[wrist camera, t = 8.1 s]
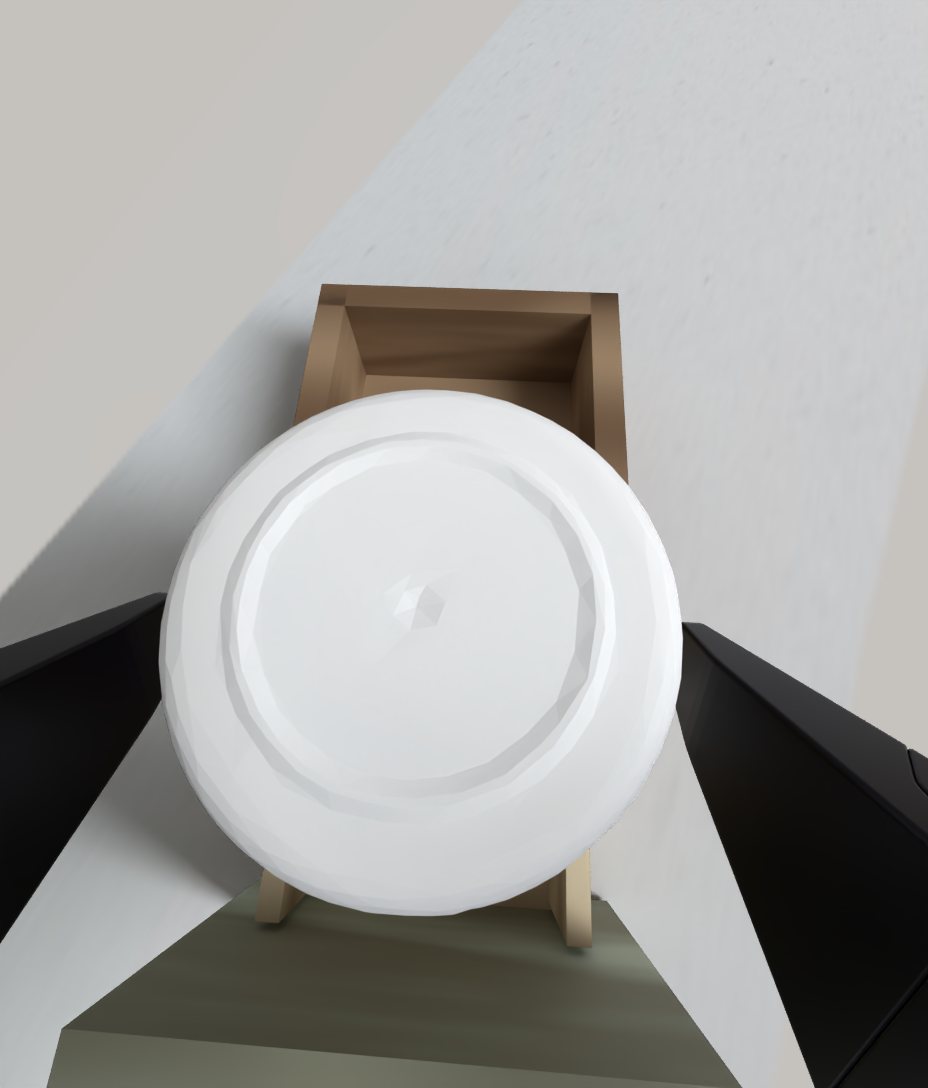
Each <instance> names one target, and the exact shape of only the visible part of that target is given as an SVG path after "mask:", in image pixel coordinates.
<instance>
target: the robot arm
mask: <svg viewBox="0 0 928 1088" xmlns="http://www.w3.org/2000/svg"><path fill="white" fill-rule="evenodd" d="M167 594H168V593H162V592H159V593H154V594H151V595H148V596H146V597H143V598H140V599H137V600H135V601H132V602H129V603H126V604H123V605H121V606H118V607H115V608H112V609H109V610H107V611H104V612H101V613H98V614H95V615H93V616H90V617H87V618H84V619H81V620H79V621H76V622H73V623H70V624H68V625H65V626H62V627H59V628H56V629H54V630H51V631H48V632H45V633H42V634H40V635H37V636H34V637H31V638H28V639H26V640H23V641H20V642H17V643H15V644H12V645H9V646H6V647H3V648H1V649H0V943H1V942H2V940H3V939H4V937H5V936H6V934H7V933H8V931H9V930H10V928H11V927H12V925H13V924H14V922H15V921H16V919H17V918H18V916H19V915H20V913H21V912H22V910H23V909H24V907H25V906H26V904H27V903H28V901H29V900H30V898H31V897H32V895H33V894H34V892H35V891H36V889H37V888H38V886H39V885H40V883H41V882H42V880H43V879H44V877H45V876H46V874H47V873H48V871H49V870H50V868H51V867H52V865H53V864H54V862H55V861H56V859H57V858H58V856H59V855H60V853H61V852H62V850H63V849H64V847H65V846H66V844H67V843H68V841H69V840H70V838H71V837H72V835H73V834H74V832H75V831H76V829H77V828H78V826H79V825H80V823H81V822H82V820H83V819H84V817H85V816H86V814H87V813H88V811H89V810H90V808H91V807H92V805H93V804H94V802H95V801H96V799H97V798H98V796H99V795H100V793H101V792H102V790H103V789H104V787H105V786H106V784H107V783H108V781H109V780H110V778H111V777H112V775H113V774H114V772H115V771H116V769H117V768H118V766H119V765H120V763H121V762H122V760H123V759H124V757H125V756H126V754H127V753H128V751H129V750H130V748H131V747H132V745H133V744H134V742H135V741H136V739H137V738H138V736H139V735H140V733H141V732H142V730H143V729H144V727H145V726H146V724H147V723H148V721H149V720H150V718H151V716H152V715H153V713H154V711H155V710H156V708H157V706H158V704H159V703H160V701H161V699H162V693H161V683H160V672H159V646H160V631H161V621H162V617H163V612H164V607H165V603H166V598H167ZM681 624H682V635H683V645H682V670H681V681H680V686H679V691H678V696H677V701H676V706H675V707H676V711H677V715H678V719H679V722H680V726H681V730H682V734H683V738H684V742H685V745H686V749H687V752H688V755H689V757H690V760H691V763H692V766H693V768H694V771H695V774H696V776H697V779H698V782H699V784H700V787H701V789H702V792H703V795H704V797H705V800H706V803H707V805H708V808H709V810H710V813H711V816H712V818H713V821H714V824H715V826H716V829H717V832H718V834H719V837H720V839H721V842H722V845H723V847H724V850H725V853H726V855H727V858H728V860H729V863H730V866H731V868H732V871H733V874H734V876H735V879H736V882H737V884H738V887H739V889H740V892H741V895H742V897H743V900H744V903H745V905H746V908H747V911H748V913H749V916H750V918H751V921H752V924H753V926H754V929H755V932H756V934H757V937H758V939H759V942H760V945H761V947H762V950H763V953H764V955H765V958H766V961H767V963H768V966H769V968H770V971H771V974H772V976H773V979H774V982H775V984H776V987H777V990H778V992H779V995H780V997H781V1000H782V1003H783V1005H784V1008H785V1011H786V1013H787V1016H788V1018H789V1021H790V1024H791V1026H792V1029H793V1032H794V1034H795V1037H796V1040H797V1042H798V1044H799V1047H800V1050H801V1052H802V1055H803V1058H804V1060H805V1063H806V1066H807V1068H808V1071H809V1074H810V1076H811V1079H812V1082H813V1084H814V1087H815V1088H928V758H926V757H925V756H923V755H921V754H920V753H918V752H917V751H915V750H913V749H908V750H907V747H906V745H904V744H903V743H901V742H900V741H897V740H896V739H895V738H893V737H891V736H890V735H888V734H886V733H885V732H883V731H881V730H879V729H878V728H876V727H875V726H873V725H871V724H870V723H868V722H866V721H865V720H863V719H861V718H859V717H858V716H856V715H854V714H853V713H851V712H849V711H848V710H846V709H844V708H843V707H841V706H839V705H838V704H836V703H834V702H833V701H831V700H829V699H828V698H826V697H824V696H823V695H821V694H819V693H818V692H816V691H814V690H813V689H811V688H809V687H808V686H806V685H804V684H803V683H801V682H799V681H798V680H796V679H794V678H793V677H791V676H789V675H788V674H786V673H784V672H783V671H781V670H779V669H778V668H776V667H774V666H773V665H771V664H769V663H768V662H766V661H764V660H763V659H761V658H759V657H758V656H756V655H754V654H753V653H751V652H749V651H748V650H746V649H744V648H743V647H741V646H739V645H738V644H736V643H734V642H733V641H731V640H729V639H728V638H726V637H724V636H723V635H721V634H719V633H718V632H716V631H714V630H713V629H711V628H709V627H708V626H706V625H704V624H701V623H689V622H681Z"/></svg>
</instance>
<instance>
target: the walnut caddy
mask: <svg viewBox="0 0 928 1088" xmlns="http://www.w3.org/2000/svg"><path fill="white" fill-rule="evenodd" d="M407 390H448V391H457V392H467V393H476V394H480V395H484V396H488V397H492V398H496V399H500V400H503V401H507V402H510V403H512V404H515V405H517V406H520V407H522V408H525V409H528V410H530V411H532V412H534V413H537V414H539V415H541V416H543V417H545V418H547V419H549V420H551V421H553V422H554V423H556V424H558V425H560V426H561V427H563V428H565V429H566V430H568V431H570V432H571V433H573V434H574V435H575V436H577V437H578V438H579V439H581V440H582V441H583V442H584V443H586V444H587V445H588V446H590V447H591V448H592V449H593V450H595V451H596V452H597V453H598V454H599V455H600V456H601V457H602V458H603V459H604V460H605V461H606V462H607V463H608V464H609V465H610V466H611V467H613V469H614V470H615V471H616V472H617V473H618V474H619V476H620V477H621V478H622V479H623V480H624V481H625V482H626V484H627V485H628V468H627V450H626V432H625V413H624V395H623V377H622V358H621V340H620V322H619V304H618V293H590V292H559V291H527V290H496V289H465V288H434V287H402V286H371V285H340V284H322V286H321V291H320V296H319V301H318V306H317V311H316V316H315V321H314V326H313V331H312V336H311V341H310V346H309V351H308V356H307V361H306V366H305V370H304V375H303V380H302V385H301V390H300V395H299V400H298V405H297V410H296V415H295V420H294V425H293V427H294V426H296V425H297V424H299V423H301V422H303V421H305V420H307V419H308V418H310V417H312V416H314V415H317V414H319V413H321V412H324V411H326V410H328V409H331V408H333V407H336V406H339V405H342V404H345V403H347V402H350V401H353V400H356V399H361V398H365V397H369V396H374V395H378V394H383V393H390V392H396V391H407Z"/></svg>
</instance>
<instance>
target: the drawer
mask: <svg viewBox="0 0 928 1088" xmlns="http://www.w3.org/2000/svg"><path fill="white" fill-rule="evenodd" d="M47 1088H742V1087H741V1085H740V1084H739V1083H738V1081H737V1080H736V1079H735V1077H734V1076H733V1074H732V1073H731V1072H730V1070H729V1069H728V1067H727V1066H726V1065H725V1063H724V1062H723V1061H722V1059H721V1058H720V1056H719V1055H718V1054H717V1052H716V1051H715V1050H714V1048H713V1047H712V1045H711V1044H710V1043H709V1041H708V1040H707V1039H706V1037H705V1036H704V1034H703V1033H702V1032H701V1030H700V1029H699V1027H698V1026H697V1025H696V1023H695V1022H694V1021H693V1019H692V1018H691V1016H690V1015H689V1014H688V1012H687V1011H686V1010H685V1008H684V1007H683V1005H682V1004H681V1003H680V1001H679V1000H678V999H677V997H676V996H675V994H674V993H673V992H672V990H671V989H670V988H669V986H668V985H667V983H666V982H665V981H664V979H663V978H662V976H661V975H660V974H659V972H658V971H657V970H656V968H655V967H654V965H653V964H652V963H651V961H650V960H649V959H648V957H647V956H646V954H645V953H644V952H643V950H642V949H641V948H640V946H639V945H638V943H637V942H636V941H635V939H634V938H633V937H632V935H631V934H630V932H629V931H628V930H627V928H626V927H625V925H624V924H623V923H622V921H621V920H620V919H619V917H618V916H617V914H616V913H615V912H614V910H613V909H612V908H611V906H610V905H609V903H608V902H607V901H602V900H591V877H590V848H589V849H588V850H587V851H586V852H585V853H584V854H583V855H582V856H581V857H579V858H578V859H577V860H576V861H575V862H574V863H572V864H571V865H569V866H568V867H567V868H565V869H564V870H563V871H561V872H560V873H558V874H557V875H555V876H554V877H552V878H550V879H548V880H547V881H545V882H543V883H542V884H540V885H538V886H536V887H534V888H532V889H530V890H528V891H525V892H523V893H521V894H519V895H517V896H515V897H512V898H510V899H508V900H505V901H501V902H498V903H495V904H491V905H488V906H485V907H482V908H475V909H470V910H466V911H463V912H460V913H457V914H454V915H441V916H403V915H390V914H378V913H369V912H363V911H359V910H356V909H352V908H348V907H344V906H341V905H337V904H333V903H329V902H327V901H324V900H322V899H319V898H316V897H314V896H311V895H309V894H306V893H304V892H302V891H301V890H299V889H297V888H295V887H294V886H292V885H290V884H288V883H286V882H285V881H283V880H281V879H279V878H277V877H276V876H274V875H273V874H271V873H270V872H269V871H268V870H266V869H265V868H263V874H262V877H261V878H260V879H259V880H257V881H256V882H255V883H253V884H252V885H251V886H249V887H248V888H247V889H245V890H244V891H243V892H242V893H240V894H239V895H238V896H236V897H235V898H234V899H232V900H231V901H230V902H228V903H227V904H226V905H224V906H223V907H222V908H220V909H219V910H218V911H216V912H215V913H214V914H212V915H211V916H210V917H209V918H207V919H206V920H205V921H203V922H202V923H201V924H199V925H198V926H197V927H195V928H194V929H193V930H191V931H190V932H189V933H187V934H186V935H185V936H183V937H182V938H181V939H179V940H178V941H177V942H176V943H174V944H173V945H172V946H170V947H169V948H168V949H166V950H165V951H164V952H162V953H161V954H160V955H158V956H157V957H156V958H154V959H153V960H152V961H150V962H149V963H148V964H146V965H145V966H144V967H143V968H141V969H140V970H139V971H137V972H136V973H135V974H133V975H132V976H131V977H129V978H128V979H127V980H125V981H124V982H123V983H121V984H120V985H119V986H117V987H116V988H115V989H113V990H112V991H111V992H110V993H108V994H107V995H106V996H104V997H103V998H102V999H100V1000H99V1001H98V1002H96V1003H95V1004H94V1005H92V1006H91V1007H90V1008H88V1009H87V1010H86V1011H84V1012H83V1013H82V1014H80V1015H79V1016H78V1017H77V1018H75V1019H74V1020H73V1021H71V1022H70V1023H69V1024H67V1025H66V1026H65V1027H63V1028H62V1030H61V1034H60V1038H59V1042H58V1046H57V1049H56V1053H55V1057H54V1061H53V1065H52V1069H51V1073H50V1076H49V1080H48V1084H47Z"/></svg>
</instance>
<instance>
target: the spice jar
mask: <svg viewBox="0 0 928 1088" xmlns="http://www.w3.org/2000/svg"><path fill="white" fill-rule="evenodd" d="M682 645H683V635H682V624H681V614H680V607H679V600H678V593H677V588H676V584H675V579H674V574H673V570H672V568H671V565H670V563H669V560H668V558H667V554H666V551H665V549H664V547H663V544H662V542H661V539H660V537H659V535H658V533H657V531H656V529H655V527H654V525H653V523H652V521H651V520H650V518H649V516H648V514H647V512H646V511H645V509H644V508H643V506H642V505H641V503H640V502H639V500H638V499H637V497H636V496H635V495H634V493H633V492H632V490H631V489H630V487H629V486H628V485H627V484H626V482H625V481H624V480H623V479H622V478H621V477H620V476H619V474H618V473H617V472H616V471H615V470H614V469H613V467H611V466H610V465H609V464H608V463H607V462H606V461H605V460H604V459H603V458H602V457H601V456H600V455H599V454H598V453H597V452H596V451H595V450H593V449H592V448H591V447H590V446H588V445H587V444H586V443H584V442H583V441H582V440H581V439H579V438H578V437H577V436H575V435H574V434H573V433H571V432H570V431H568V430H566V429H565V428H563V427H561V426H560V425H558V424H556V423H554V422H553V421H551V420H549V419H547V418H545V417H543V416H541V415H539V414H537V413H534V412H532V411H530V410H528V409H525V408H522V407H520V406H517V405H515V404H512V403H510V402H507V401H503V400H500V399H496V398H492V397H488V396H484V395H480V394H476V393H467V392H457V391H448V390H407V391H396V392H390V393H383V394H378V395H374V396H369V397H365V398H361V399H356V400H353V401H350V402H347V403H345V404H342V405H339V406H336V407H333V408H331V409H328V410H326V411H324V412H321V413H319V414H317V415H314V416H312V417H310V418H308V419H307V420H305V421H303V422H301V423H299V424H297V425H296V426H294V427H292V428H290V429H289V430H287V431H286V432H284V433H283V434H281V435H280V436H278V437H277V438H275V439H274V440H272V441H271V442H270V443H268V444H267V445H266V446H264V447H263V448H262V449H260V450H259V451H258V452H256V453H255V454H254V455H253V456H252V457H251V458H250V459H249V460H247V461H246V462H245V463H244V464H243V465H242V466H241V467H240V468H239V469H238V470H237V471H236V472H235V473H234V474H233V475H232V476H231V477H230V478H229V480H228V481H227V482H226V483H225V484H224V485H223V487H222V488H221V489H220V491H219V492H218V493H217V495H216V496H215V497H214V498H213V500H212V501H211V503H210V504H209V505H208V507H207V508H206V510H205V511H204V513H203V514H202V515H201V517H200V518H199V520H198V522H197V524H196V525H195V527H194V529H193V531H192V532H191V534H190V536H189V538H188V540H187V542H186V545H185V547H184V549H183V551H182V553H181V555H180V558H179V560H178V563H177V566H176V568H175V571H174V573H173V577H172V580H171V584H170V587H169V591H168V594H167V598H166V603H165V607H164V612H163V617H162V621H161V631H160V646H159V672H160V683H161V693H162V704H163V710H164V714H165V717H166V721H167V725H168V729H169V733H170V736H171V740H172V744H173V748H174V750H175V753H176V755H177V757H178V760H179V762H180V764H181V766H182V769H183V771H184V773H185V775H186V778H187V780H188V782H189V783H190V785H191V787H192V788H193V790H194V792H195V793H196V795H197V797H198V798H199V800H200V802H201V803H202V805H203V806H204V808H205V809H206V810H207V812H208V813H209V814H210V816H211V817H212V819H213V820H214V821H215V823H216V824H217V825H218V826H219V828H220V829H221V830H222V831H223V832H224V833H225V834H226V835H227V836H228V838H229V839H230V840H231V841H233V842H234V843H235V844H236V845H237V846H238V847H239V848H240V849H241V850H242V851H243V852H244V853H246V854H247V855H248V856H249V857H251V858H252V859H253V860H254V861H256V862H257V863H258V864H260V865H261V866H262V867H264V868H265V869H266V870H268V871H269V872H270V873H271V874H273V875H274V876H276V877H277V878H279V879H281V880H283V881H285V882H286V883H288V884H290V885H292V886H294V887H295V888H297V889H299V890H301V891H302V892H304V893H306V894H309V895H311V896H314V897H316V898H319V899H322V900H324V901H327V902H329V903H333V904H337V905H341V906H344V907H348V908H352V909H356V910H359V911H363V912H369V913H378V914H390V915H403V916H441V915H454V914H457V913H460V912H463V911H466V910H470V909H475V908H482V907H485V906H488V905H491V904H495V903H498V902H501V901H505V900H508V899H510V898H512V897H515V896H517V895H519V894H521V893H523V892H525V891H528V890H530V889H532V888H534V887H536V886H538V885H540V884H542V883H543V882H545V881H547V880H548V879H550V878H552V877H554V876H555V875H557V874H558V873H560V872H561V871H563V870H564V869H565V868H567V867H568V866H569V865H571V864H572V863H574V862H575V861H576V860H577V859H578V858H579V857H581V856H582V855H583V854H584V853H585V852H586V851H587V850H588V849H589V848H590V847H591V846H593V845H594V844H595V843H596V842H597V841H598V840H599V839H600V838H601V837H602V836H603V835H604V834H605V833H606V832H607V831H608V830H609V829H611V828H612V827H613V826H614V825H615V823H616V822H617V821H618V820H619V818H620V817H621V816H622V814H623V813H624V812H625V811H626V809H627V808H628V807H629V806H630V804H631V803H632V802H633V801H634V799H635V798H636V797H637V796H638V794H639V792H640V791H641V789H642V787H643V786H644V784H645V782H646V780H647V778H648V776H649V774H650V772H651V770H652V768H653V765H654V763H655V762H656V760H657V758H658V757H659V755H660V753H661V750H662V747H663V744H664V741H665V738H666V736H667V733H668V730H669V727H670V724H671V721H672V718H673V715H674V711H675V706H676V701H677V696H678V691H679V686H680V681H681V670H682Z"/></svg>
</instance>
